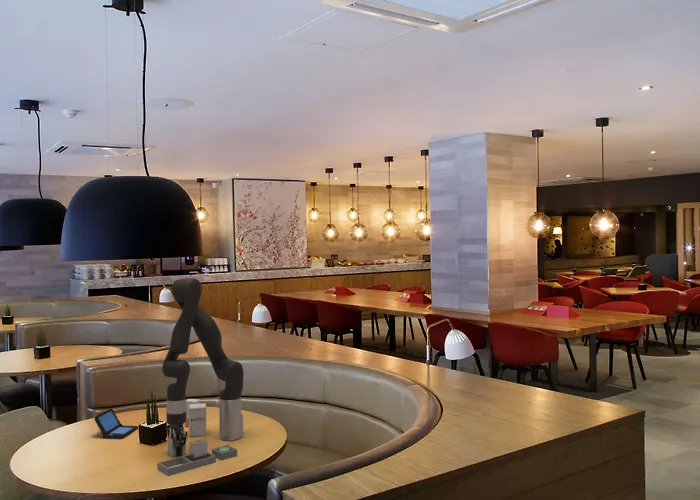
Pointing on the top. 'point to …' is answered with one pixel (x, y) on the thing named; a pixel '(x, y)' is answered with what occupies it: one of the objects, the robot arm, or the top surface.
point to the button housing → (224, 453)
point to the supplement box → (197, 419)
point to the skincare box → (188, 401)
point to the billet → (174, 447)
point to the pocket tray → (183, 464)
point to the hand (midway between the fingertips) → (176, 453)
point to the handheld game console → (113, 426)
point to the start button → (224, 449)
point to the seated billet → (197, 450)
